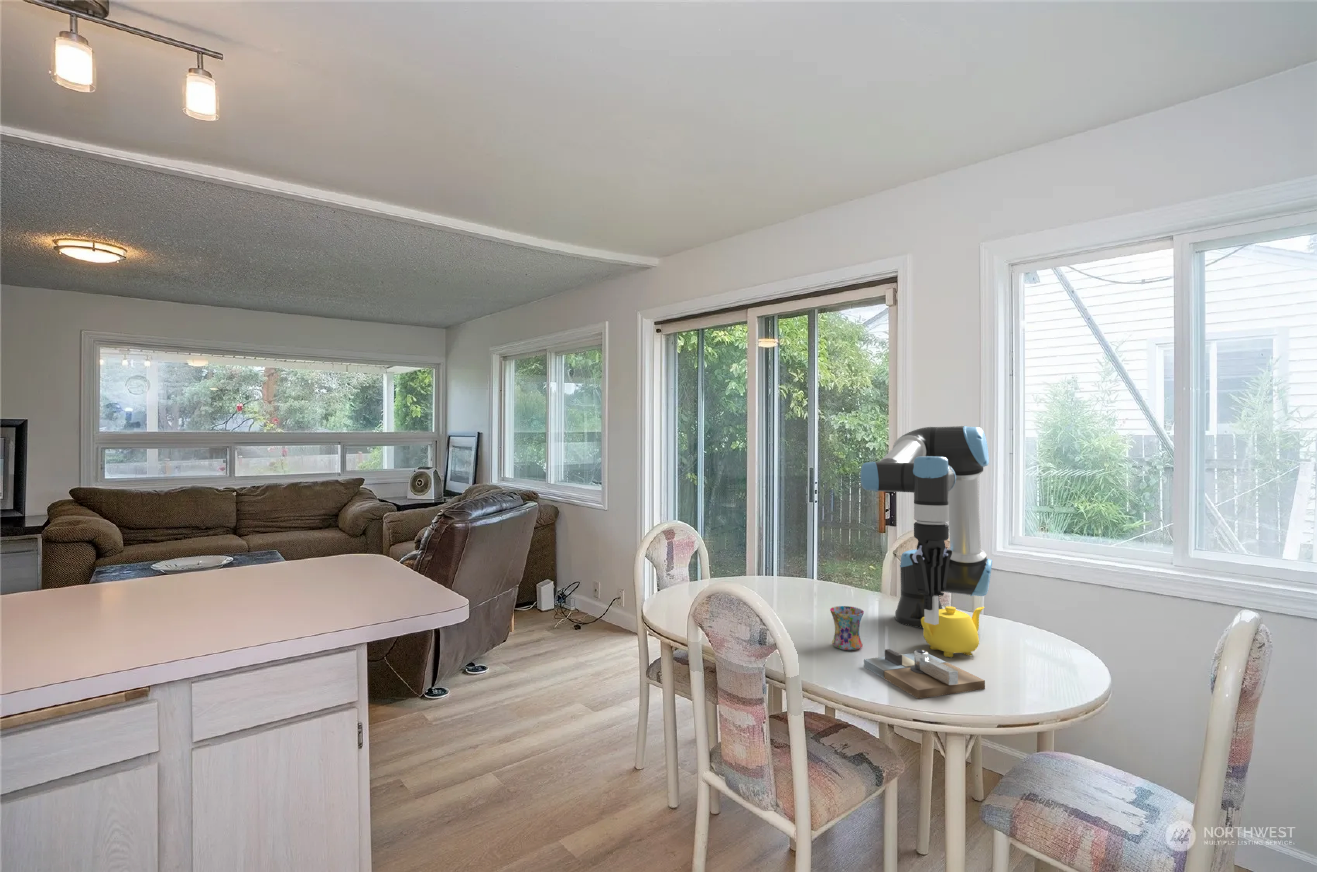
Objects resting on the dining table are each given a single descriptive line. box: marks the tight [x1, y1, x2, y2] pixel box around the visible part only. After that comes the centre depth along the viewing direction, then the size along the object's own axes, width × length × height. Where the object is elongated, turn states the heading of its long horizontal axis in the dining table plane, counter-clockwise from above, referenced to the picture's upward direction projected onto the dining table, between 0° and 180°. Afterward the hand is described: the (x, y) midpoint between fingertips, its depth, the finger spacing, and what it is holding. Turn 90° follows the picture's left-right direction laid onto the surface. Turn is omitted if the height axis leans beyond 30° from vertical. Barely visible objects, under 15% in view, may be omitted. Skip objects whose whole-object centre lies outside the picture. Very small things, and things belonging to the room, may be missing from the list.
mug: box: [829, 605, 865, 651], centre depth 183 cm, size 12×9×11 cm
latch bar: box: [913, 648, 958, 685], centre depth 153 cm, size 13×3×4 cm, turn 17°
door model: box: [863, 648, 986, 700], centre depth 159 cm, size 19×21×4 cm
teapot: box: [921, 605, 985, 658], centre depth 178 cm, size 13×20×12 cm
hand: (931, 622), depth 148 cm, fingers closed
